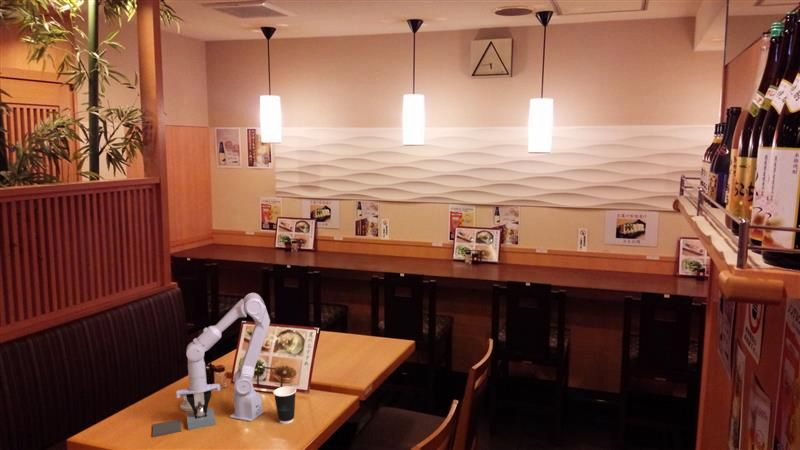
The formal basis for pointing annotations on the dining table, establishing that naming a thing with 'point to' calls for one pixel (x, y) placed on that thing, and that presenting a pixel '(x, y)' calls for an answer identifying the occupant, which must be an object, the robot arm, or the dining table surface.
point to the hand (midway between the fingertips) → (200, 412)
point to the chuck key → (200, 410)
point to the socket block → (200, 420)
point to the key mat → (166, 427)
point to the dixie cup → (285, 403)
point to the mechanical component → (197, 397)
